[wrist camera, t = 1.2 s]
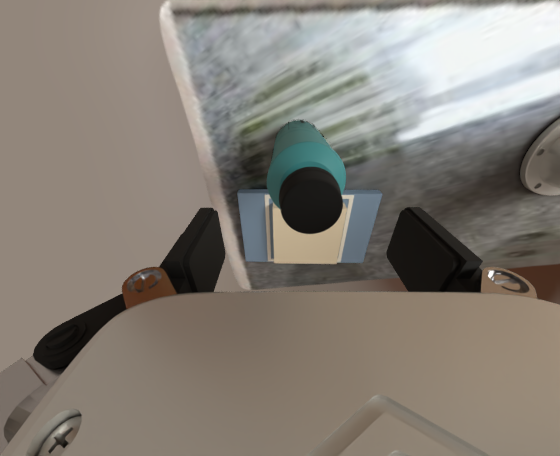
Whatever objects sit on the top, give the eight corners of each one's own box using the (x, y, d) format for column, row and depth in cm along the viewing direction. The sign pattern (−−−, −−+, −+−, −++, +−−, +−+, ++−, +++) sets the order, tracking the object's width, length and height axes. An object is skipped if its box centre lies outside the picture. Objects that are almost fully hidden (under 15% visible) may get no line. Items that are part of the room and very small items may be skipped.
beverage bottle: (275, 166, 31) (262, 254, 15) (273, 116, 28) (252, 158, 11) (319, 165, 31) (356, 254, 14) (322, 115, 28) (379, 155, 11)
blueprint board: (378, 189, 33) (387, 199, 30) (360, 257, 41) (366, 270, 38) (239, 189, 34) (234, 198, 31) (247, 256, 41) (244, 268, 38)
